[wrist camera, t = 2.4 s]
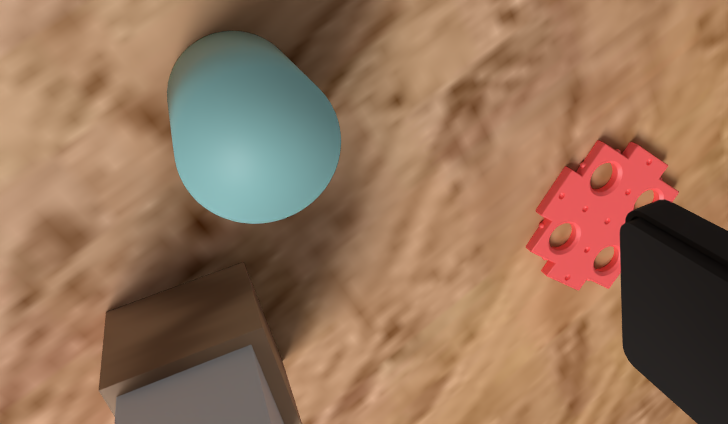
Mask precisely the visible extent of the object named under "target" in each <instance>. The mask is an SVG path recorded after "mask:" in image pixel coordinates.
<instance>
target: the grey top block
mask: <svg viewBox="0 0 728 424" xmlns="http://www.w3.org/2000/svg"><path fill="white" fill-rule="evenodd" d="M115 424H284V422H283V420H282V417H281V415H280V413H279V410H278V408H277V405H276V403H275V401H274V398H273V396H272V393H271V391H270V389H269V386H268V384H267V381H266V379H265V377H264V374H263V372H262V369H261V367H260V364H259V362H258V360H257V357H256V355H255V352H254V350H253V348H252V345H248V346H246V347H243V348H241V349H238V350H235V351H233V352H230V353H228V354H225V355H223V356H220V357H218V358H215V359H212V360H210V361H207V362H205V363H202V364H200V365H197V366H195V367H192V368H189V369H187V370H184V371H182V372H179V373H177V374H174V375H172V376H169V377H166V378H164V379H161V380H159V381H156V382H154V383H151V384H149V385H146V386H143V387H141V388H138V389H136V390H133V391H131V392H128V393H126V394H123V395H120V396H118V397H116V410H115Z"/></svg>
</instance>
